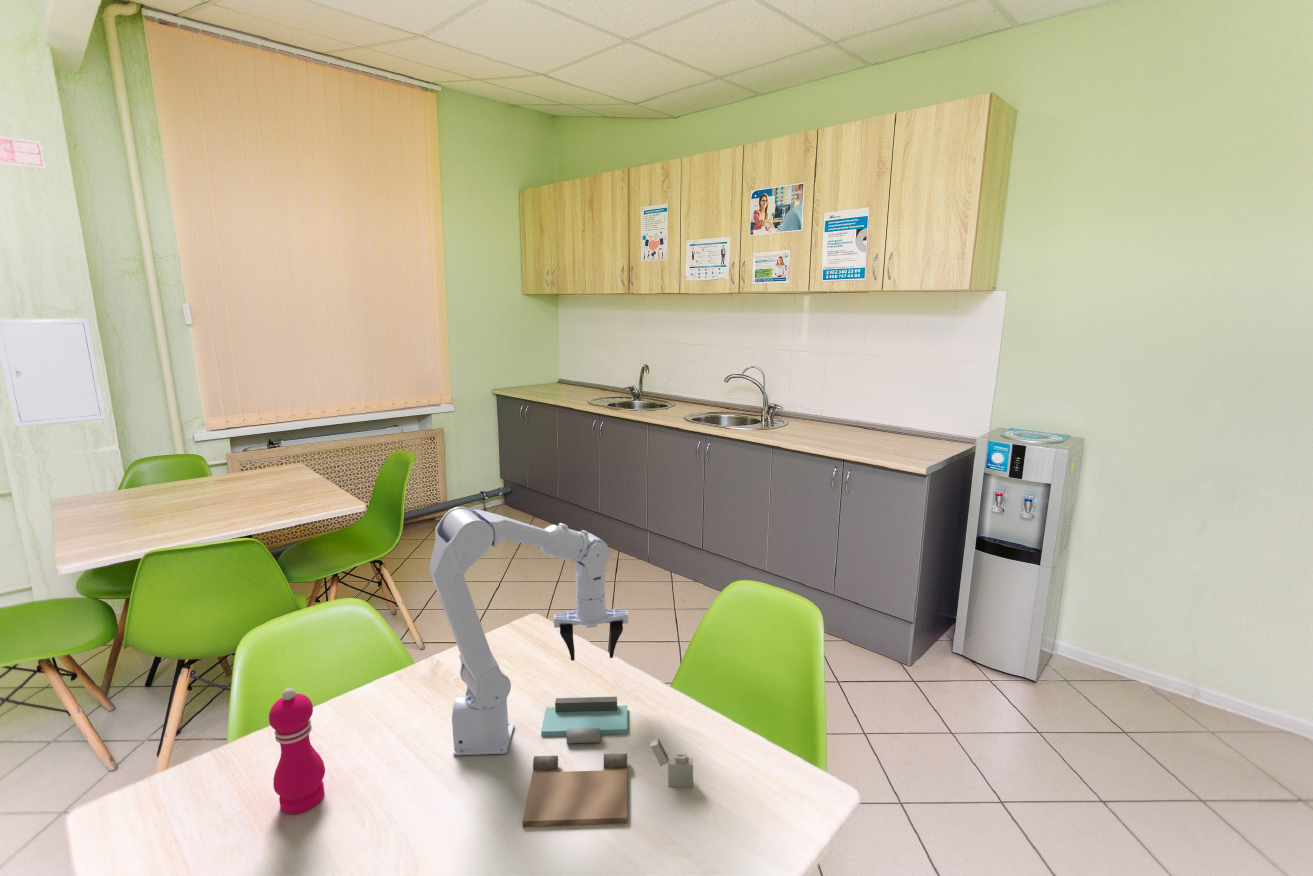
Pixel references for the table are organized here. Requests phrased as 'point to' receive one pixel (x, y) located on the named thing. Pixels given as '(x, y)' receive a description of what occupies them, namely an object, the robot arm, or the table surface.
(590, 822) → the fixed leaf
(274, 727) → the pepper mill
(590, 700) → the teal hinge plate
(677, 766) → the lighter
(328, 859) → the table surface
